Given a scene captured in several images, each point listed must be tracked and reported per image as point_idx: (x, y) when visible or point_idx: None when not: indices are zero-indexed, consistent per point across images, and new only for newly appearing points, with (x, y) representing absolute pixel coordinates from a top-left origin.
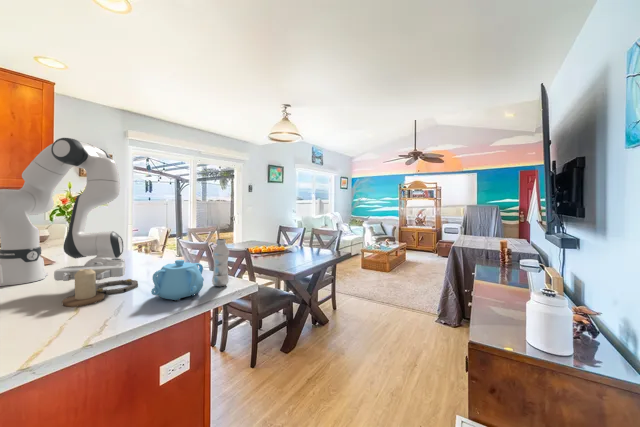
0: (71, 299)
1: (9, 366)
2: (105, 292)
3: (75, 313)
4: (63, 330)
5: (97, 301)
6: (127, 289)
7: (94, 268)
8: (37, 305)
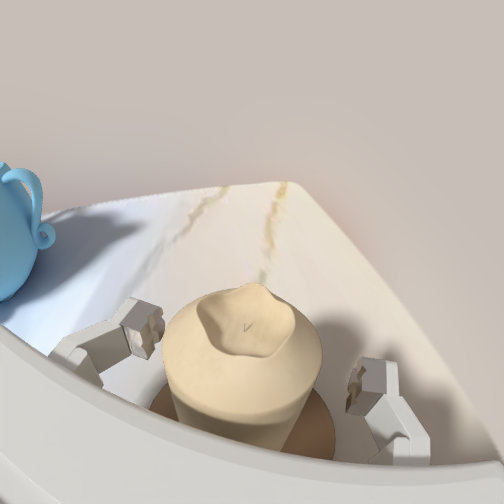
0: (297, 430)
1: (299, 187)
2: None
3: None
4: (264, 230)
5: None
6: None
7: (153, 431)
8: None
